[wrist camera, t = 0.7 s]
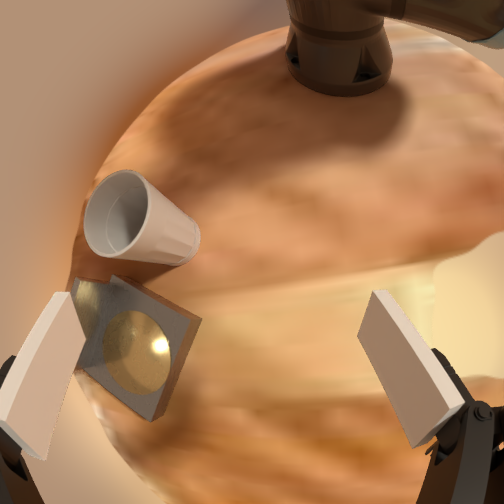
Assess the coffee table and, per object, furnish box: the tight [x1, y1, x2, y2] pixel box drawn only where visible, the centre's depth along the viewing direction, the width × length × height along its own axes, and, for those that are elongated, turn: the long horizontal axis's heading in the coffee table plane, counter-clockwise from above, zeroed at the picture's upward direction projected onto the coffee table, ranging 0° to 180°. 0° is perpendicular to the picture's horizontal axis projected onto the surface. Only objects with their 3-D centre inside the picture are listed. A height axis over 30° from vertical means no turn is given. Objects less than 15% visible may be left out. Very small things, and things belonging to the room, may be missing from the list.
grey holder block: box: [70, 274, 202, 422], centre depth 30 cm, size 14×12×9 cm
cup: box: [84, 170, 201, 266], centre depth 29 cm, size 8×8×12 cm
